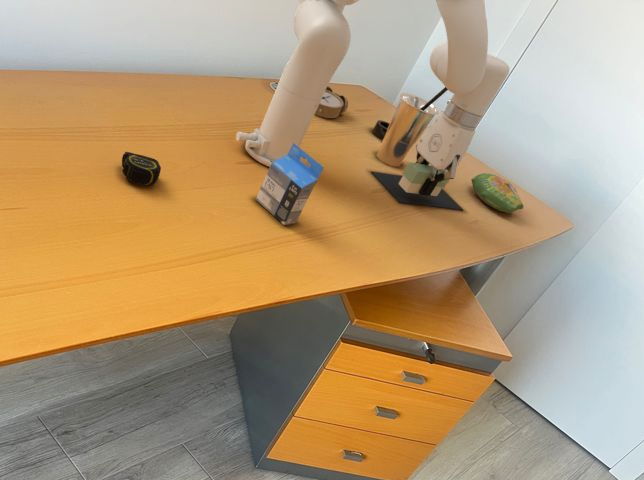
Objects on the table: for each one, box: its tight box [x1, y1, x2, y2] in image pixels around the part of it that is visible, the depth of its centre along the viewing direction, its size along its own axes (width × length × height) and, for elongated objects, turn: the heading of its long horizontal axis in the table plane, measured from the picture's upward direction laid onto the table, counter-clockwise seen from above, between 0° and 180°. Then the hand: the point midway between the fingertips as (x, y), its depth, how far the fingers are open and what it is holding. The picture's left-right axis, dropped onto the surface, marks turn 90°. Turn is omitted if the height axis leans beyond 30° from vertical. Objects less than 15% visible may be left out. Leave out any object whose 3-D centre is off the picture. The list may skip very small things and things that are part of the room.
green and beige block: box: [399, 161, 450, 196], centre depth 160 cm, size 10×4×6 cm, turn 109°
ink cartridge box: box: [255, 143, 325, 226], centre depth 132 cm, size 9×4×12 cm, turn 37°
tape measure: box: [121, 151, 162, 186], centre depth 126 cm, size 7×7×4 cm
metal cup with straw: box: [376, 86, 449, 168], centre depth 167 cm, size 11×11×30 cm
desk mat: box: [370, 170, 464, 212], centre depth 167 cm, size 20×13×1 cm, turn 109°
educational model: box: [471, 172, 524, 214], centre depth 176 cm, size 13×16×6 cm
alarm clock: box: [314, 85, 349, 119], centre depth 189 cm, size 11×5×15 cm
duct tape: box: [371, 119, 390, 141], centre depth 188 cm, size 8×10×3 cm
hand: (418, 188), depth 161 cm, fingers closed on green and beige block, 4 cm apart
